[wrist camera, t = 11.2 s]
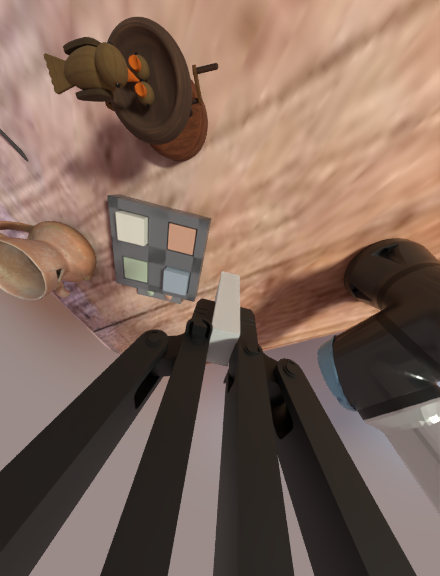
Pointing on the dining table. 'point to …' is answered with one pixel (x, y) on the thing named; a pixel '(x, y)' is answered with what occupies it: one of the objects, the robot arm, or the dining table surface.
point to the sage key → (136, 269)
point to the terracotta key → (182, 238)
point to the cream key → (132, 228)
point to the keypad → (158, 245)
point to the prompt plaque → (159, 296)
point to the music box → (139, 84)
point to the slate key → (176, 281)
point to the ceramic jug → (43, 259)
